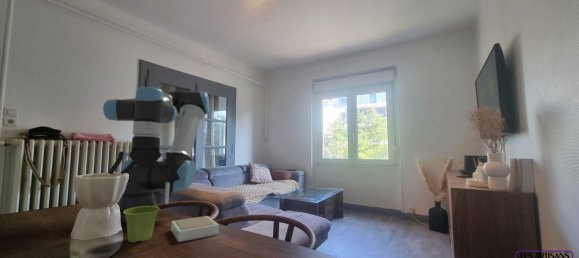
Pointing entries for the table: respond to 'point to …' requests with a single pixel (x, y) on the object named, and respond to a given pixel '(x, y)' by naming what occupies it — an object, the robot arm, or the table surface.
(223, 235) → the table surface
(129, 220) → the plant pot
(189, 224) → the pedestal
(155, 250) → the table surface
